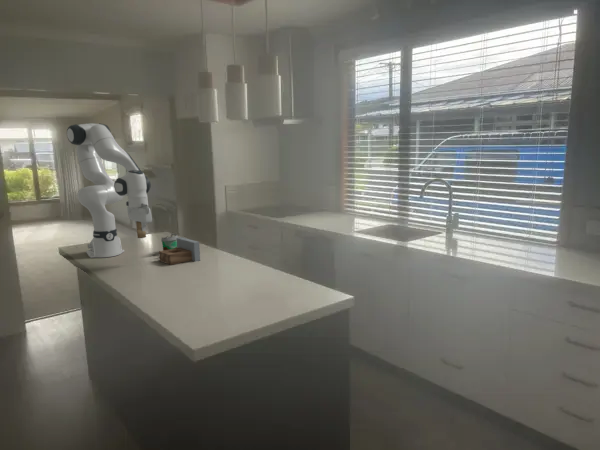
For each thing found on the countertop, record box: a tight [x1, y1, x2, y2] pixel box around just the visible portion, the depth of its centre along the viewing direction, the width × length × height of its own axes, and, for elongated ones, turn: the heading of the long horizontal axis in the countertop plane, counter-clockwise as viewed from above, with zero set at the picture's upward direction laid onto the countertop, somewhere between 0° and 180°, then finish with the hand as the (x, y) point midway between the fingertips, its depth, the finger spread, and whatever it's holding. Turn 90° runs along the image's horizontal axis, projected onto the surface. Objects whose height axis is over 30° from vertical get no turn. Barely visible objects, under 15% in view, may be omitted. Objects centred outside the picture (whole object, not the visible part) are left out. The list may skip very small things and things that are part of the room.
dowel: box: [135, 222, 147, 239], centre depth 221 cm, size 4×4×8 cm
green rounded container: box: [161, 233, 179, 251], centre depth 245 cm, size 12×6×10 cm, turn 168°
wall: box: [177, 236, 201, 262], centre depth 233 cm, size 18×3×10 cm, turn 44°
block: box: [158, 248, 192, 266], centre depth 228 cm, size 12×12×5 cm
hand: (141, 230), depth 221 cm, fingers closed on dowel, 4 cm apart
